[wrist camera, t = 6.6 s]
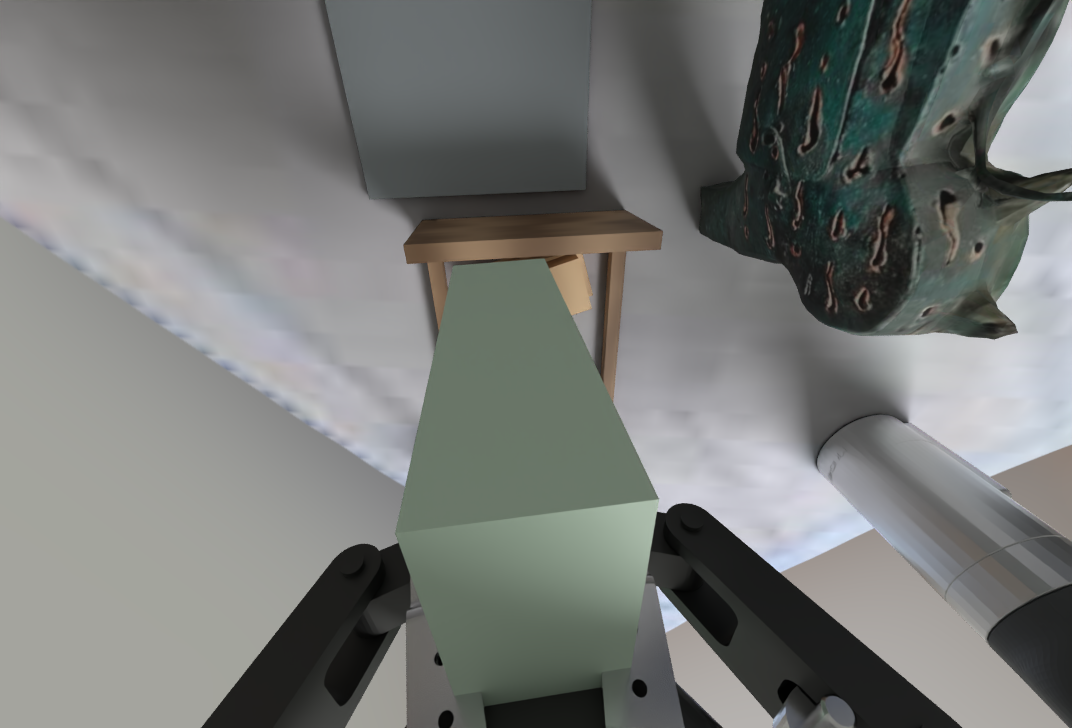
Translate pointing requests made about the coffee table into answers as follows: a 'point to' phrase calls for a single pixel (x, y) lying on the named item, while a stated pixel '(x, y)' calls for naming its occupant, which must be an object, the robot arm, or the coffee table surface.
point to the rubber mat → (466, 93)
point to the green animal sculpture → (888, 159)
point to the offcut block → (568, 279)
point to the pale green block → (523, 496)
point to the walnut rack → (538, 253)
